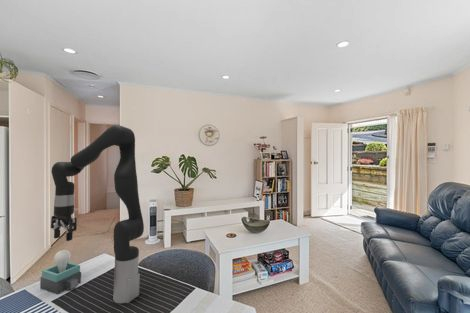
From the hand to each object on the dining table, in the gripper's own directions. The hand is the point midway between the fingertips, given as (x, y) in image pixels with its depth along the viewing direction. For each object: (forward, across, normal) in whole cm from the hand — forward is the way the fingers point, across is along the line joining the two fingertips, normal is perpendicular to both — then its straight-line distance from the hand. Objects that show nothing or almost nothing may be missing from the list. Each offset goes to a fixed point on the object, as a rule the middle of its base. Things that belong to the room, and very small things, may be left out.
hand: (62, 239), depth 100 cm
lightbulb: (+16, 0, 0) cm, 17 cm away
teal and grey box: (+21, -1, 0) cm, 21 cm away
